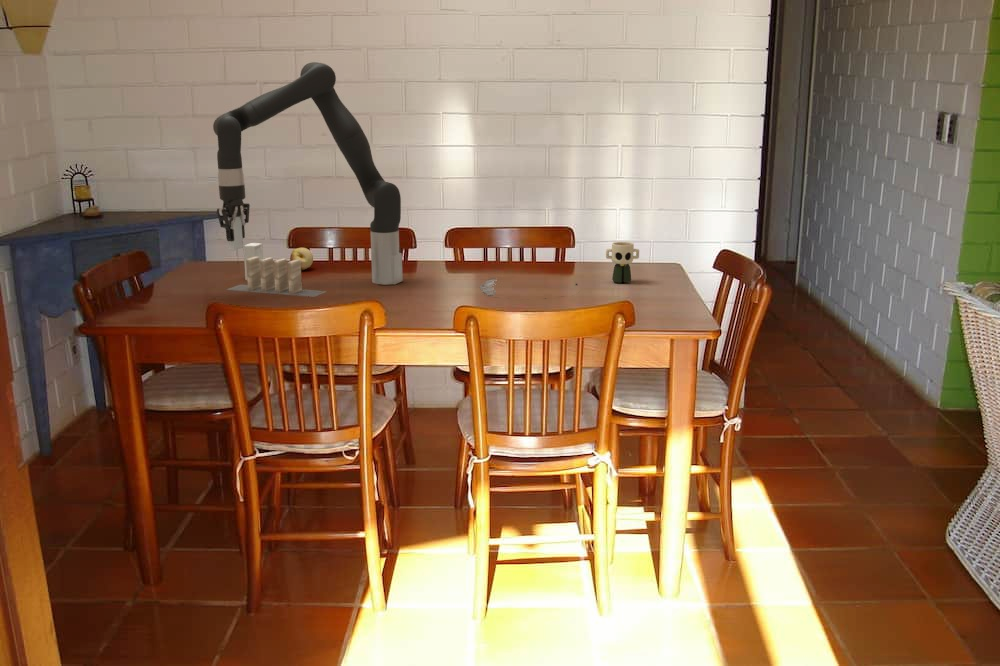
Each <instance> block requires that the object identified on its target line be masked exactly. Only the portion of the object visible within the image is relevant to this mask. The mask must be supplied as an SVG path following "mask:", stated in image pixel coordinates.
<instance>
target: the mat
mask: <svg viewBox="0 0 1000 666" xmlns="http://www.w3.org/2000/svg"><path fill="white" fill-rule="evenodd" d="M227 290H228V291H238V292H248V293H249V292H251V293H261V294H262V293H263V294H275V295H286V296H287V295H288V296H299V297H308V296H309V297H311V298H316V297H318V296H320V295H322V294H323V295H324V293H327V292H328V291H327V290H315V289H314V290H313V289H303V288H302V291H300V292H297V293H295V294H289V287H288V290H286V291H283V292H281V293H277V292H275V288H274V289H272V290H269V291H267V292H264V291H262V287H261V288H258V289H255V290H253V291H252V290H248V284H241V283H240V284H239V285H235V286H232V287H229V288H227V289H226V291H227ZM309 297H308V298H309Z"/></svg>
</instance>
